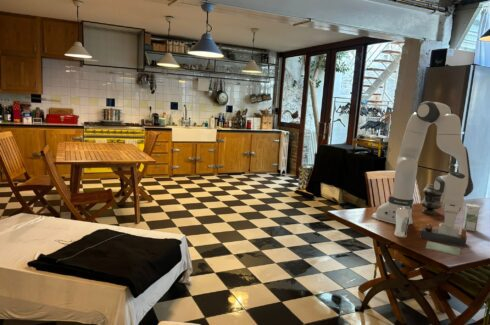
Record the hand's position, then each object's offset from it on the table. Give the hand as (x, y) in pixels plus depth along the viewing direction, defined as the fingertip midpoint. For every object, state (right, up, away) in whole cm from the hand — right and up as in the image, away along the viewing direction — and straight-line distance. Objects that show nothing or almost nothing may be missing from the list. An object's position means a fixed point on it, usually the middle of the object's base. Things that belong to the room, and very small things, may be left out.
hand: (448, 231), depth 181 cm
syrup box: (+24, -3, +22) cm, 33 cm away
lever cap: (0, -1, 0) cm, 1 cm away
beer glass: (-22, -3, +6) cm, 23 cm away
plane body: (-2, -5, +2) cm, 6 cm away
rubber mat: (-8, -7, -10) cm, 14 cm away
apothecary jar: (+18, +2, +53) cm, 56 cm away
